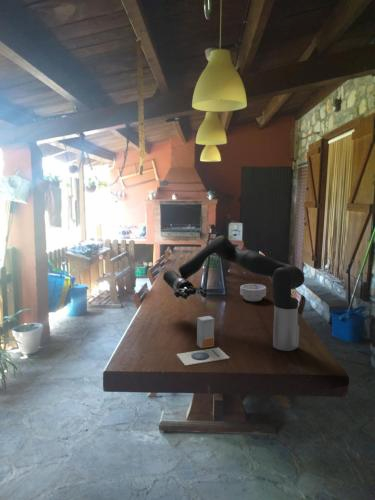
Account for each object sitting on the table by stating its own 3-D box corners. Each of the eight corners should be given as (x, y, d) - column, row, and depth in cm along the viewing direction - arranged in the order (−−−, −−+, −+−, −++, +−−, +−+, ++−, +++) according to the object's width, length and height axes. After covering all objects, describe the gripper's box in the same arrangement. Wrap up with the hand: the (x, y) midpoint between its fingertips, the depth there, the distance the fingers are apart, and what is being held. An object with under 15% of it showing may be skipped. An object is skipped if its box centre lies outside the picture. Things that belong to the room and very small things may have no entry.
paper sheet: (218, 348, 149) (218, 347, 149) (229, 358, 139) (229, 357, 139) (176, 354, 143) (176, 353, 142) (185, 365, 133) (185, 364, 133)
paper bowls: (234, 299, 219) (235, 286, 218) (250, 294, 229) (250, 282, 228) (255, 304, 208) (255, 291, 206) (271, 299, 218) (271, 286, 217)
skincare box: (201, 349, 148) (201, 320, 146) (196, 345, 152) (196, 317, 150) (214, 346, 150) (214, 318, 149) (209, 342, 154) (210, 315, 152)
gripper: (168, 280, 171) (180, 289, 156) (197, 278, 176) (210, 286, 161) (168, 296, 172) (180, 306, 157) (197, 293, 177) (210, 302, 162)
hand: (195, 296), depth 159 cm, fingers open, 8 cm apart
